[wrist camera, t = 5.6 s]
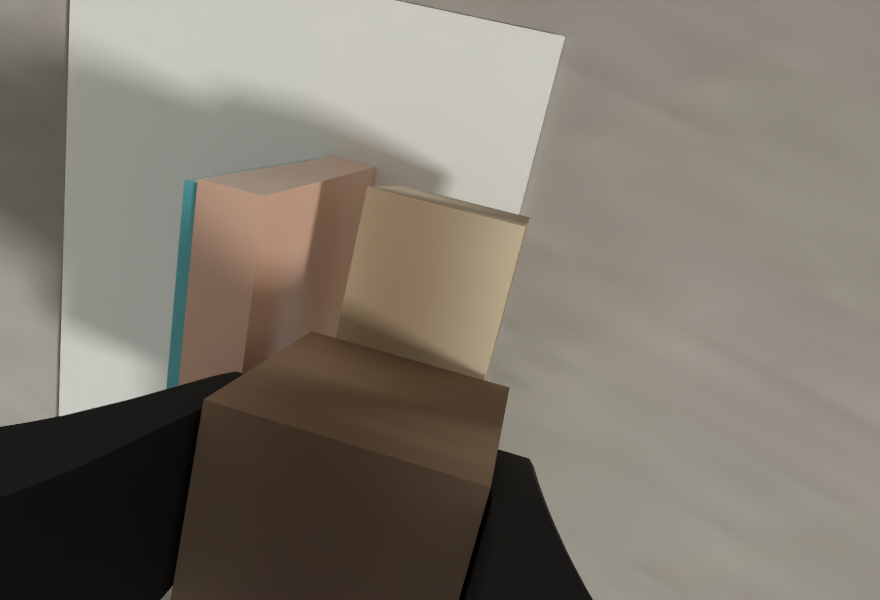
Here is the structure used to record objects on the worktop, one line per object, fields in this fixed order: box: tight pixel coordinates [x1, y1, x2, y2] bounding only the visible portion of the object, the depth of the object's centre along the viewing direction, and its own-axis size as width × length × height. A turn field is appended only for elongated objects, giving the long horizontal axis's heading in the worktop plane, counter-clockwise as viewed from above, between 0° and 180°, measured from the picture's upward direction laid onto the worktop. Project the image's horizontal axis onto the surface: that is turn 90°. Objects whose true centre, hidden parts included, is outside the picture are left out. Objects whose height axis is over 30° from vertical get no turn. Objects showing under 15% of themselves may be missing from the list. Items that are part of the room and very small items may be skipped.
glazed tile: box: [166, 156, 377, 389], centre depth 15 cm, size 2×8×6 cm, turn 167°
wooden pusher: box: [171, 186, 530, 600], centre depth 12 cm, size 4×10×7 cm, turn 167°
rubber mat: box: [59, 0, 565, 416], centre depth 18 cm, size 13×16×1 cm
